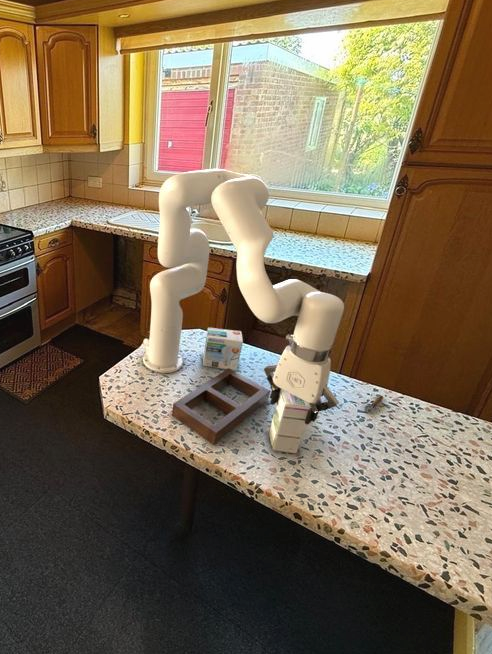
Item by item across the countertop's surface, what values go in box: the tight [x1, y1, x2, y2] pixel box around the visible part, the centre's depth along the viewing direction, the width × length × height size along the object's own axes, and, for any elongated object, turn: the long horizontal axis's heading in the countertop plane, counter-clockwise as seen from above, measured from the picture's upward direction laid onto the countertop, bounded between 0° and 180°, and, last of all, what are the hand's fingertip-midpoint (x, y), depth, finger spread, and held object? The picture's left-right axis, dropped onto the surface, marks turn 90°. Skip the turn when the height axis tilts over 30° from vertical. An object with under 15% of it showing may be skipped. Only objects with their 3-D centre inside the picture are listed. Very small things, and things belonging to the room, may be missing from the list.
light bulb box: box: [202, 327, 244, 372], centre depth 126 cm, size 11×7×11 cm, turn 76°
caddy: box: [171, 368, 271, 446], centre depth 108 cm, size 14×25×4 cm, turn 129°
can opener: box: [364, 395, 384, 412], centre depth 110 cm, size 9×2×1 cm, turn 123°
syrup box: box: [268, 389, 311, 454], centre depth 95 cm, size 6×6×14 cm
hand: (291, 411), depth 93 cm, fingers closed on syrup box, 7 cm apart
